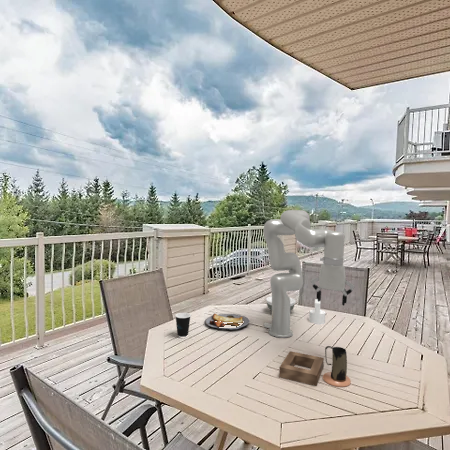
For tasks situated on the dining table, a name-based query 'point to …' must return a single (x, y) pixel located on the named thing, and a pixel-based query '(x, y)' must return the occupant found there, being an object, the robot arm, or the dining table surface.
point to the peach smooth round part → (334, 383)
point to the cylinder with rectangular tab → (317, 314)
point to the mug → (338, 364)
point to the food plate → (226, 320)
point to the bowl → (269, 303)
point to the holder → (302, 374)
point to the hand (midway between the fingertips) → (331, 302)
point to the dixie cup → (182, 324)
